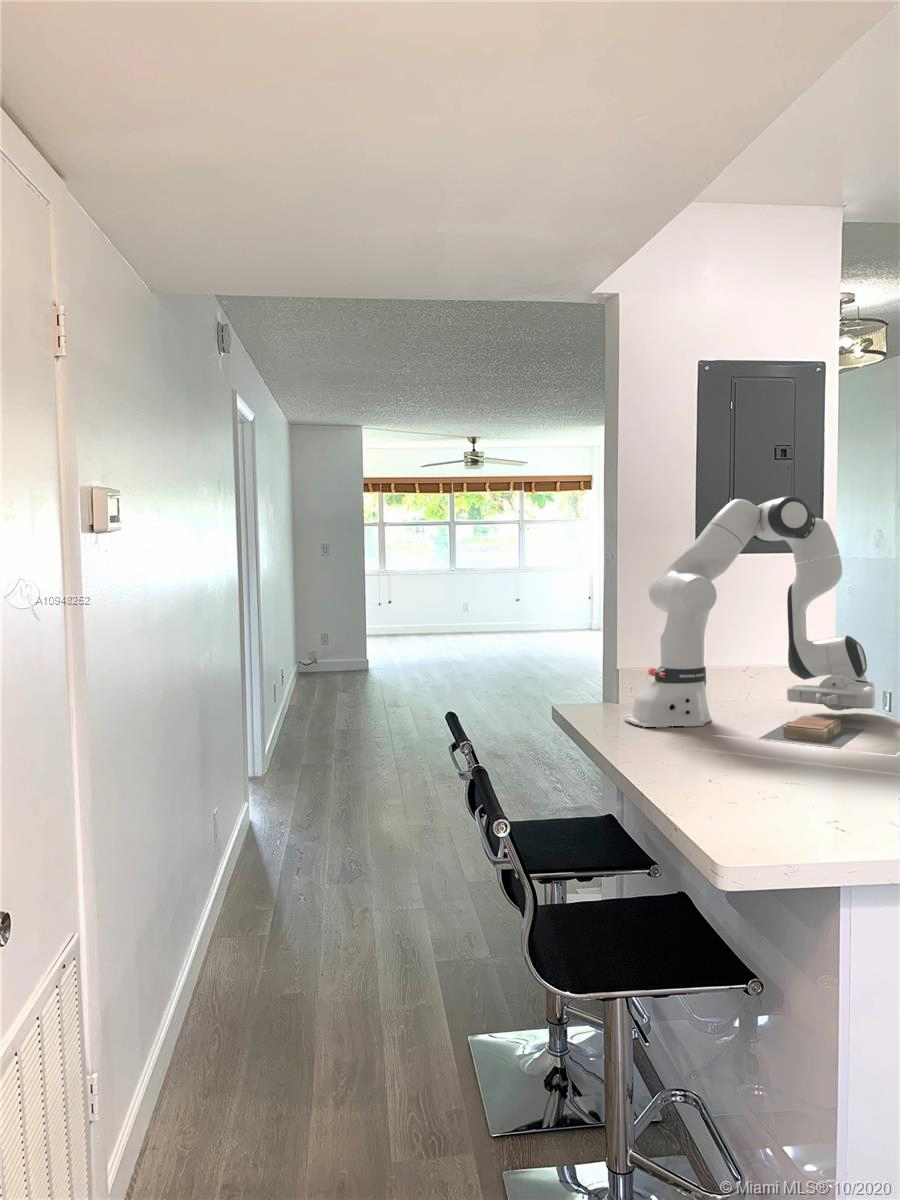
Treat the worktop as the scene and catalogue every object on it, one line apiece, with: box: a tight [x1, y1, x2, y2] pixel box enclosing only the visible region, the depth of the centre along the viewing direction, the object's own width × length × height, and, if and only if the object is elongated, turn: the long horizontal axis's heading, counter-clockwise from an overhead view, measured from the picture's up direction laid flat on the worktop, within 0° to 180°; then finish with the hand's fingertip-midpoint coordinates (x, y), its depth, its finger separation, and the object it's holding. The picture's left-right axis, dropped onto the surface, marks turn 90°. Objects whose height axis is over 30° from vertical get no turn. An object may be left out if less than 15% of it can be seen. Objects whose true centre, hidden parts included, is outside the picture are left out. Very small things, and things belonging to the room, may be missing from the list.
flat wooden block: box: [783, 715, 842, 742], centre depth 199 cm, size 3×9×14 cm
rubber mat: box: [758, 721, 866, 750], centre depth 200 cm, size 22×18×1 cm
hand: (822, 701), depth 205 cm, fingers closed
